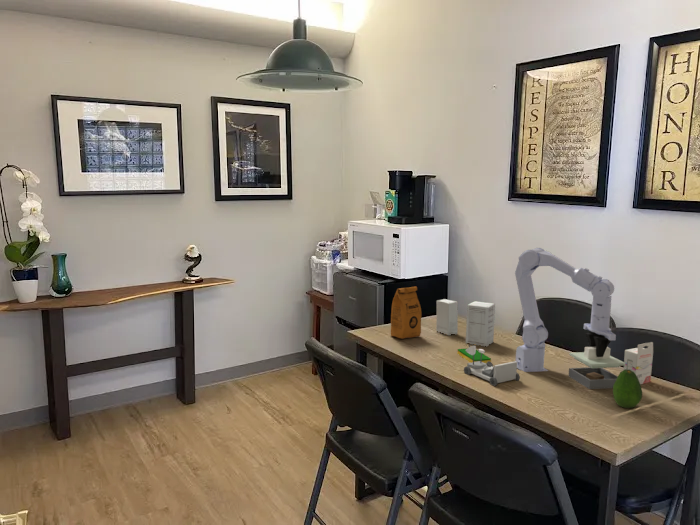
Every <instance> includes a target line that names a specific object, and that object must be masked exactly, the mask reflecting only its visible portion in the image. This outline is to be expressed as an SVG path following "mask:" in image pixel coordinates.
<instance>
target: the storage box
mask: <svg viewBox="0 0 700 525" xmlns="http://www.w3.org/2000/svg"><path fill="white" fill-rule="evenodd" d="M592 372H595V373H598V374H601V375H603V376H604V379H596V380H590V379H588V378H587V377H586V374H588V373H592ZM568 377H569V378H570V379H572V380H573V381H576V382H577V383H579V384H580V385H582V386H584V387H585V388H586V389H588V390H596V389H598V390H599V389H600V390H601V389H613V385H614V383H615V381H616V379H617V377H618V375H616V374H614V373H612V372H611V371H608V370H607V369H606V368H590V367H589V366H586V367H570V368H569V369H568Z"/></svg>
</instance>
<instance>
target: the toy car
mask: <svg viewBox="0 0 700 525" xmlns="http://www.w3.org/2000/svg"><path fill="white" fill-rule="evenodd" d="M476 347H477V345H471V344H468V347H467V349H466V348H465V349H466V352H468V353H469V354H471V355H473V362H472V363H470V362H468V363H467V366H464V368H463V373H464V374H466V375H468V376H469V375H471V374H472V375H475V376H476V377H479V378H481V379H483V380H486V381H488V382H489V384H490V385H491V386H493V387H496V386H497V385H498V384H499V383H505V382H507V381H512V380H513V381H517V382H518V381H520V379H521V376H520V374H519V372H518V370H517V369H518V368H517V362H516V360H514V361H510V362H505V363H499V364H495V365H493V362H492V361H491V362H490V361H488V362H487V363H483V362H482V353H483V354H485V352H486V350H484V349H482V348H476ZM476 350H478V351H479V352H480V353H481V360H480V361H477V362H474V354H475V353H476Z"/></svg>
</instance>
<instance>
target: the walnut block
mask: <svg viewBox="0 0 700 525" xmlns="http://www.w3.org/2000/svg"><path fill="white" fill-rule="evenodd" d="M586 377H587V378H588V379H590V380H596V379H604V376H603V375H601V374H598V373H595V372H592V373H588V374H586Z"/></svg>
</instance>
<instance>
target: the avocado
mask: <svg viewBox="0 0 700 525" xmlns="http://www.w3.org/2000/svg"><path fill="white" fill-rule="evenodd" d="M617 376H618V377H617V379H616V381H615V383H614V385H613V388H612V395H613V399H614V401H615V403H616V404H617V405H618V407H619V406H620V408H621V407H622V408H625V409H631V408H635V407H636V406H637V405H638V404H639V403H640V402H641V400H642V398H643V389H642V384H640V382H639V380H638V378H637V376H636V374H635V373H634V372H633V371H631V370H628V369H625V370H621V371H620V372H619V374H618V375H617Z"/></svg>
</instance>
